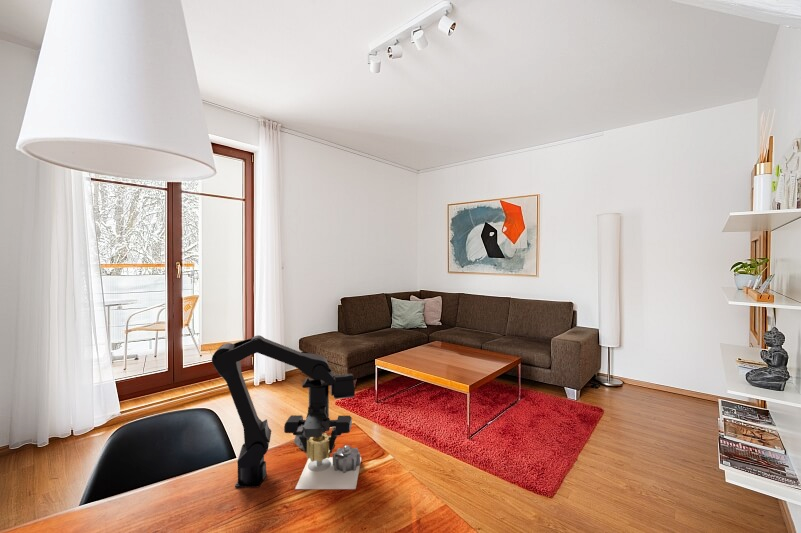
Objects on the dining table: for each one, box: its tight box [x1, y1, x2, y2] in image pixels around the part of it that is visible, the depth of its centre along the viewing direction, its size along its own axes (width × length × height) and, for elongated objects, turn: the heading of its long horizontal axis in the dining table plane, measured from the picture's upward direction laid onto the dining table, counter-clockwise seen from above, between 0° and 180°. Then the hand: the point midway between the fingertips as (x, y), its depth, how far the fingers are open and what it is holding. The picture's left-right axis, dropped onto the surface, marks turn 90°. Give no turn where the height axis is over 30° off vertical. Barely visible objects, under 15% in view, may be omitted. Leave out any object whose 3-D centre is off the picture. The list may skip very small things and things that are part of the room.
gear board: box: [294, 456, 362, 490], centre depth 103 cm, size 16×15×8 cm
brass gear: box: [306, 432, 331, 462], centre depth 107 cm, size 7×7×5 cm
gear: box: [332, 444, 361, 473], centre depth 107 cm, size 8×8×6 cm
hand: (318, 452), depth 107 cm, fingers closed on brass gear, 7 cm apart
